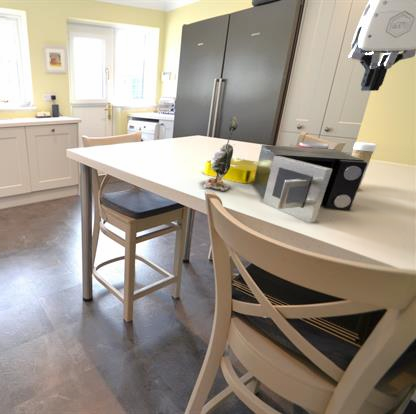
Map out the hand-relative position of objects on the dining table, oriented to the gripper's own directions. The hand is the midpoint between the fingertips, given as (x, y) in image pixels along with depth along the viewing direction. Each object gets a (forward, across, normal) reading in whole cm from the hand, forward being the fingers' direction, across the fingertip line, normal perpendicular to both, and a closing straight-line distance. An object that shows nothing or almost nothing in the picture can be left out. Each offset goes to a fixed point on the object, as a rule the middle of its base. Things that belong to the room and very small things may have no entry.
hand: (369, 90), depth 59 cm
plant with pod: (+26, -26, +9) cm, 38 cm away
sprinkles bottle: (+27, +12, +18) cm, 35 cm away
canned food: (+27, +4, +30) cm, 40 cm away
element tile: (+26, -19, +24) cm, 40 cm away
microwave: (+26, -6, +5) cm, 28 cm away
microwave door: (+26, -14, -8) cm, 31 cm away
